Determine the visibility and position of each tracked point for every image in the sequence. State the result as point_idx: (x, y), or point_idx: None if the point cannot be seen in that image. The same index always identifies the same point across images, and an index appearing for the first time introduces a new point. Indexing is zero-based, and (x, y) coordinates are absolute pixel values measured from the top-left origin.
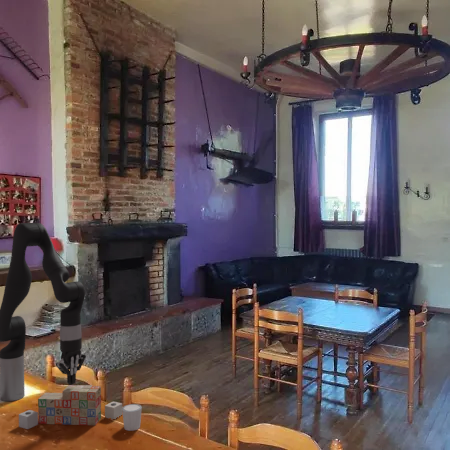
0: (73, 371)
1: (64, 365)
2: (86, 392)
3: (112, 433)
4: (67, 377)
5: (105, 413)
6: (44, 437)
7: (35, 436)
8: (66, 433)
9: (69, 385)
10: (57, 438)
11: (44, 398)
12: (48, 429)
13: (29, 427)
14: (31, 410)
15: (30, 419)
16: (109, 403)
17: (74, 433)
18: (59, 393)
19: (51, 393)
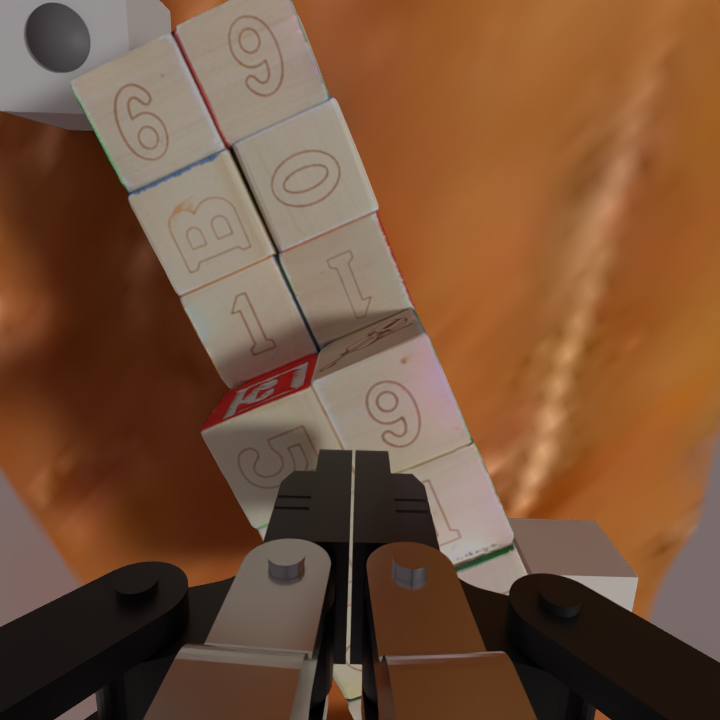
0: (365, 699)
1: (151, 705)
2: (343, 690)
3: (328, 695)
4: (268, 535)
5: (513, 541)
6: (58, 366)
7: (29, 294)
8: (183, 457)
9: (423, 352)
10: (100, 456)
11: (130, 151)
12: (158, 292)
13: (84, 129)
14: (125, 4)
15: (59, 120)
16: (587, 579)
17: (211, 503)
18: (351, 205)
19: (302, 94)
